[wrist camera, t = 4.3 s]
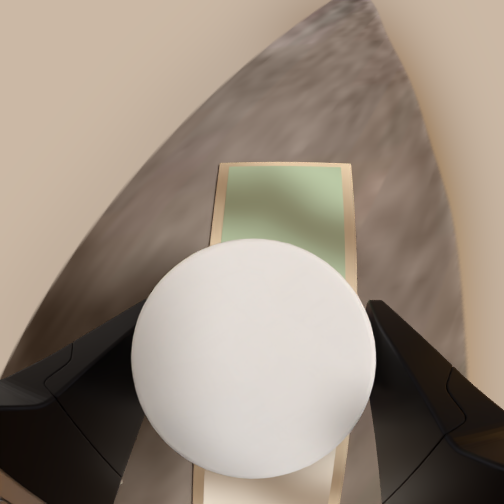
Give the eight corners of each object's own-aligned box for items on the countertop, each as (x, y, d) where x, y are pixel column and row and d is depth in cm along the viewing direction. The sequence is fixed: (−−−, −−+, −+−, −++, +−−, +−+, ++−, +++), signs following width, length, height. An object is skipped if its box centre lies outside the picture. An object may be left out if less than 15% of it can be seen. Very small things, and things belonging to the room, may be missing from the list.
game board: (332, 534, 11) (332, 536, 11) (193, 522, 12) (192, 524, 12) (350, 165, 18) (350, 163, 17) (220, 164, 19) (219, 162, 18)
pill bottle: (344, 304, 15) (417, 231, 6) (325, 419, 14) (369, 518, 4) (229, 288, 16) (140, 199, 7) (208, 399, 14) (90, 454, 5)
